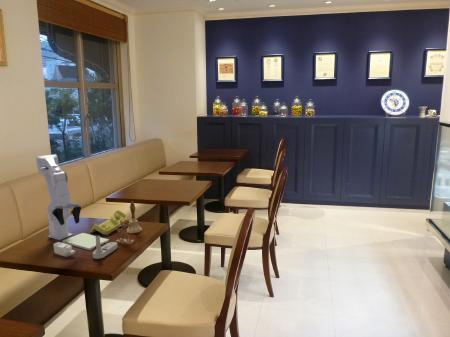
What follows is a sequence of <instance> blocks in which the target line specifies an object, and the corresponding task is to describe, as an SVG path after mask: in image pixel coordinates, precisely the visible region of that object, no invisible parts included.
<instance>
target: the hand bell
mask: <svg viewBox="0 0 450 337" xmlns="http://www.w3.org/2000/svg"><path fill="white" fill-rule="evenodd" d="M129 209H130V213H131V214H130V215H131V219H130V220H129V221H128V222H129V223H130V224H131V228H130V227H128V226H127V229H129V228H130V229H129V230H127V233H128V234H136V233H140V232H141V231H143V228H142V227H141V226H140V224H139V220H138V219H136V215H135V212H136V204H135V203H134V200H133V201H130V204H129Z"/></svg>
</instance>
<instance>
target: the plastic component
mask: <svg viewBox="0 0 450 337" xmlns="http://www.w3.org/2000/svg"><path fill="white" fill-rule="evenodd" d="M122 219H125V220H126V221H127V219H128V216H127V214H126V213H124V212H123V211H121V210H120V209H119V210H116V211H115V212H114V214H112V215H111V216H110V218H108V219H107V220H105V221H104V222H102V223H100V224H97V223H93V224H92V226H91V228H90V233H92V234H93V233H95V232H96V231H98V232H99V233H100V234H102V235H103V236H104V235H105V236H107V235H110V234H111V233H113V232H114V231H117V227H118V226H119V228H120V227H121V226H120V225H121V224H120V220H122ZM122 221H123V224H125V223H124V222H125V221H124V220H122ZM122 221H121V223H122Z"/></svg>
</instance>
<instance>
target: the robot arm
mask: <svg viewBox="0 0 450 337" xmlns="http://www.w3.org/2000/svg"><path fill="white" fill-rule="evenodd" d="M35 162H36V167H37V171H38V173H39V174H40V175H42V176H43V178H44V180H45V184H46V188H47V191H48V192H47V193H48V195H49V199H50V203H49V204H48V205H47V207H46V214H47V218H48V221H49V222H48V232H49V235H48V238H50V239H51V238H52V239H54V240H57V241H60V240H64V239H65V238H66V239H67V238H70V237H72V236H73V235H74V234H73V233H70V232H69V226H68V224H69V222H68V220H69V218H70V216H71V214H72V216H73V220H74V223H75V225H76V224H79V223H80V214H81V211H82V204H81V203H76V202H73V201H72V197H71V193H70V190H69V189H70V188H69V186H68V183H69V182H68V180H69V179H68V174H67V172H66V171H63V170H62V168H61V167H60V165H59V158H58V155H57V153H55V154H48V155H41V156H40V155H37V156H36V158H35ZM70 209H71V210H70Z"/></svg>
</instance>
